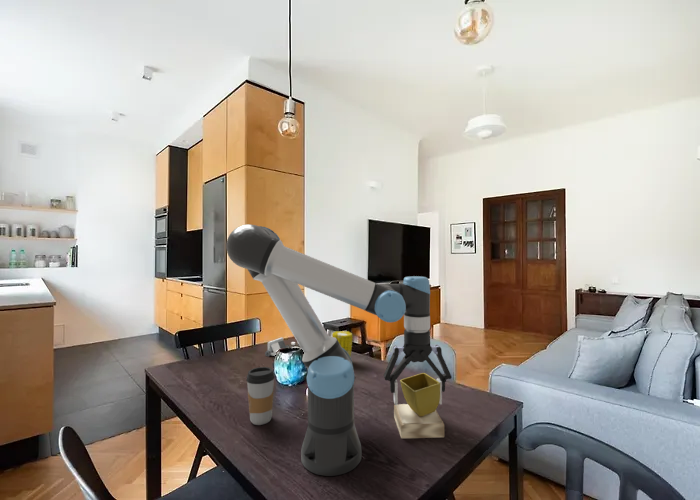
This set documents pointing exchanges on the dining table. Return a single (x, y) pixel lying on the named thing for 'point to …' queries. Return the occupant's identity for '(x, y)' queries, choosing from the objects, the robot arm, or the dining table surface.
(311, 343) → the robot arm
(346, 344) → the food
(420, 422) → the cream square block
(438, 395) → the flower pot
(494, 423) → the dining table surface
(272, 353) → the toy car
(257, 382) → the coffee cup
